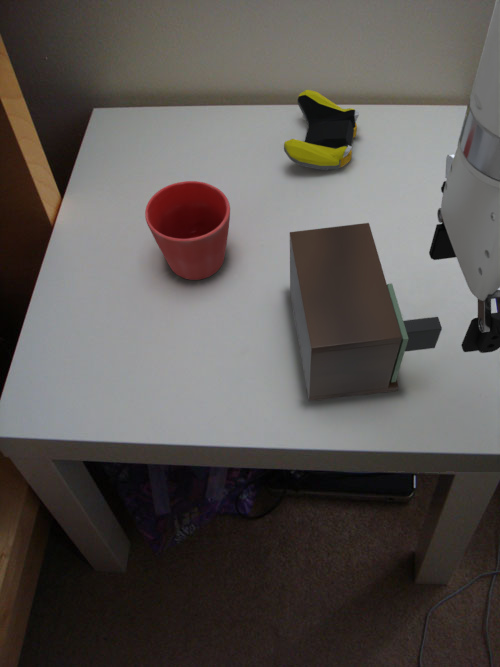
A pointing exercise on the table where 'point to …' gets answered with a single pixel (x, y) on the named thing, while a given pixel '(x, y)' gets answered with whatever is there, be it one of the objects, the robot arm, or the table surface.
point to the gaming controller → (323, 133)
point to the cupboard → (342, 312)
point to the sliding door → (413, 333)
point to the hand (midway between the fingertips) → (463, 298)
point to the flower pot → (190, 227)
